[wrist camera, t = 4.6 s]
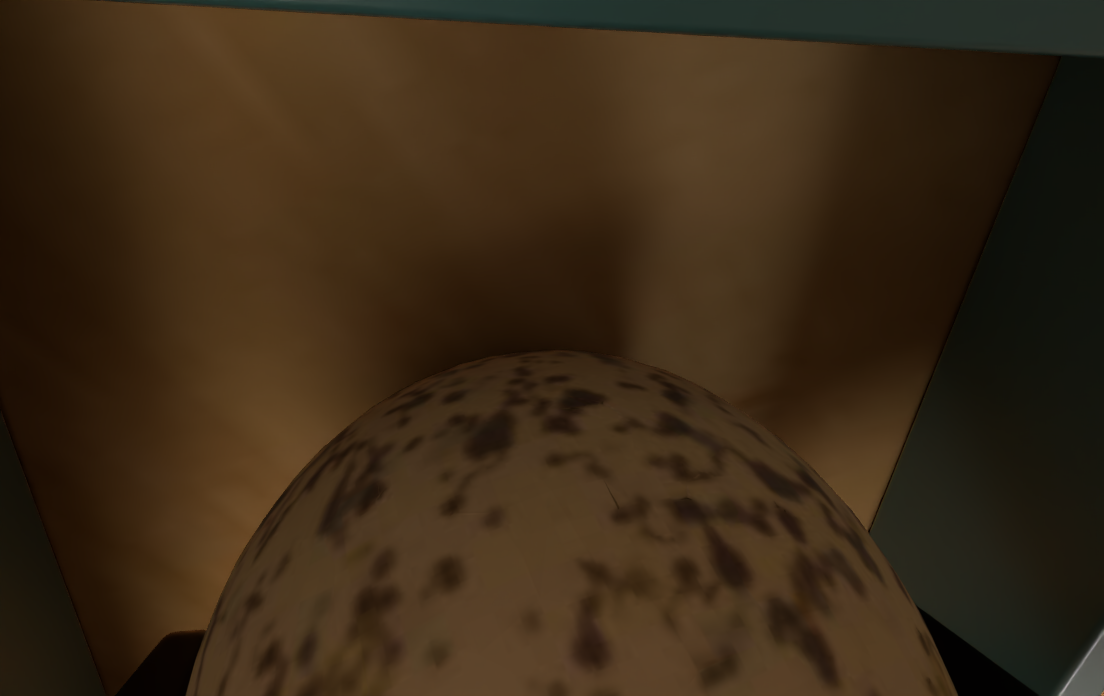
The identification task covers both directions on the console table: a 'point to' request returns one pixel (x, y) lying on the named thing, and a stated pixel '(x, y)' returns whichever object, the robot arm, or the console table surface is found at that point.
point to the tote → (953, 393)
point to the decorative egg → (562, 553)
